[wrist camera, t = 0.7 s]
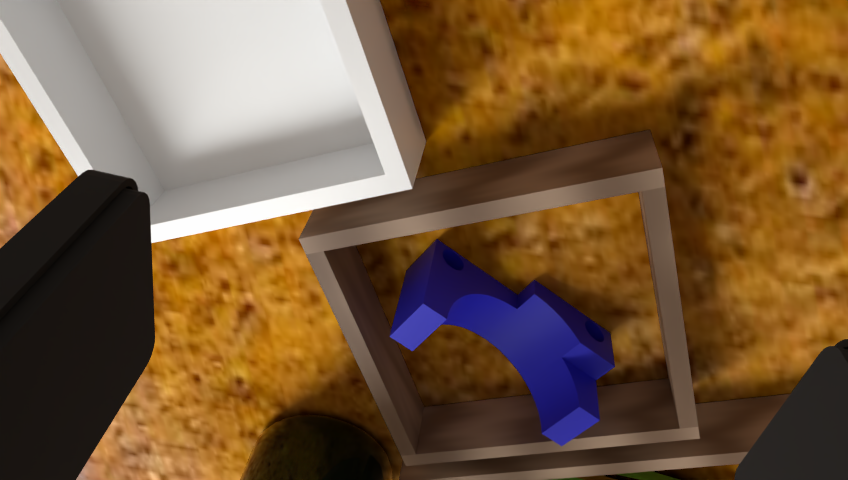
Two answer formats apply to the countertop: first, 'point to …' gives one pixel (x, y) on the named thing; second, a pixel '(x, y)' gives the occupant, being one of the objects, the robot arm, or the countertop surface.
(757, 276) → the countertop surface
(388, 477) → the dark green wine bottle
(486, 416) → the brown hollow square frame
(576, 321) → the cable clip
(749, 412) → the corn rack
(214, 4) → the bin
